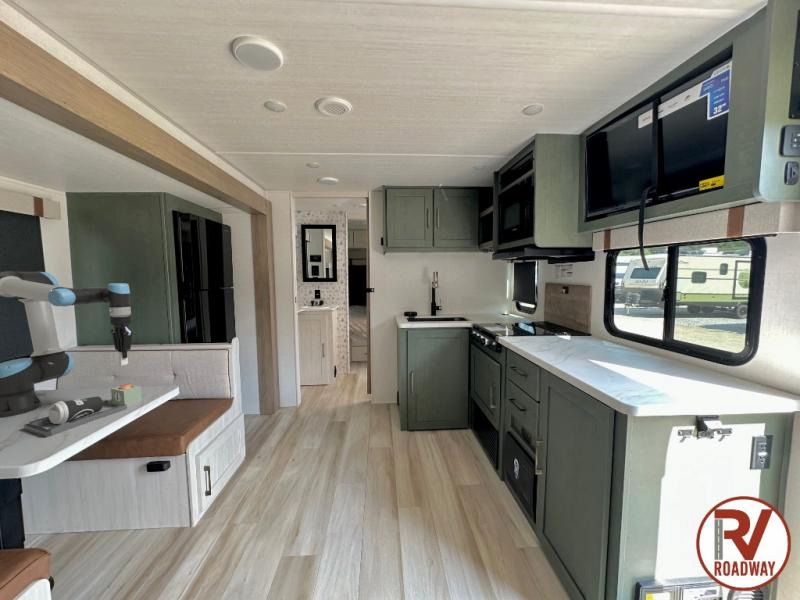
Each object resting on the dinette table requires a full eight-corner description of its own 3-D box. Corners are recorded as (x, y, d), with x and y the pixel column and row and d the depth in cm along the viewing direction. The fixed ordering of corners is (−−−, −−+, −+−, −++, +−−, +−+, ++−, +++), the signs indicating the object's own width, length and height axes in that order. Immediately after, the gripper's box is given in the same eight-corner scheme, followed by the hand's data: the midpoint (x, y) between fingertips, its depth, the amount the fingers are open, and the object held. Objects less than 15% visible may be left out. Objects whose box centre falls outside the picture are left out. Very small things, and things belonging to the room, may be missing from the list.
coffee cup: (107, 400, 143) (64, 410, 128) (100, 418, 144) (57, 430, 129) (95, 389, 145) (51, 398, 131) (88, 406, 146) (44, 417, 132)
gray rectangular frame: (24, 429, 127) (23, 423, 127) (105, 404, 151) (104, 399, 151) (46, 437, 121) (45, 431, 120) (127, 409, 145) (126, 404, 145)
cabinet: (110, 405, 151) (109, 389, 150) (129, 399, 158) (128, 383, 157) (123, 408, 147) (122, 391, 146) (141, 402, 154) (140, 386, 153)
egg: (119, 398, 151) (118, 386, 151) (128, 395, 155) (128, 383, 154) (124, 399, 150) (123, 387, 149) (134, 396, 153) (133, 384, 153)
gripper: (102, 316, 148) (106, 365, 150) (119, 317, 143) (122, 368, 145) (121, 314, 155) (124, 361, 157) (138, 315, 150) (141, 364, 152)
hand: (123, 364), depth 151 cm, fingers closed
